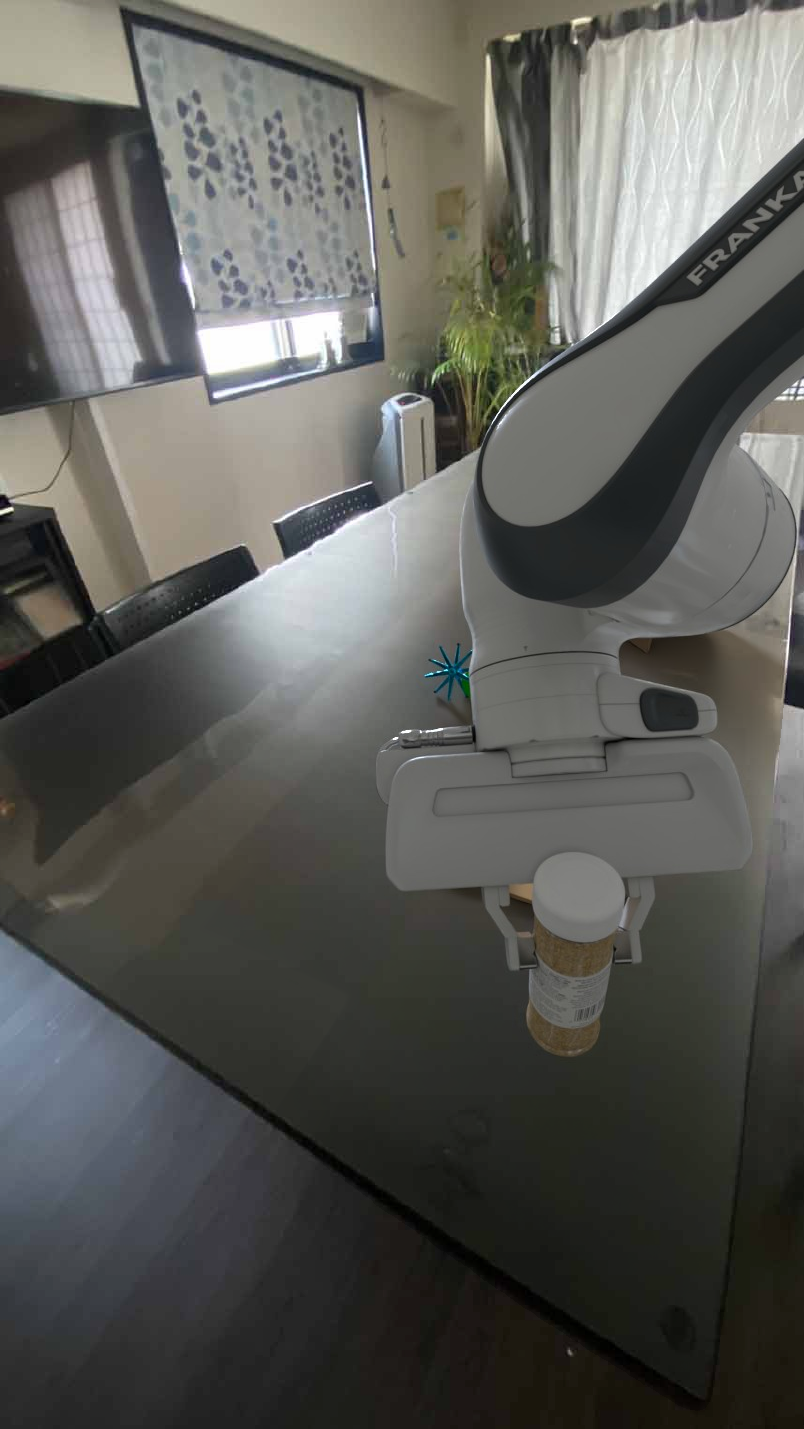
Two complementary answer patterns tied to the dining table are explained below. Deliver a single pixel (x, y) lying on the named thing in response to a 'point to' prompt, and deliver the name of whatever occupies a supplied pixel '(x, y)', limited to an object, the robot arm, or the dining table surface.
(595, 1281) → the dining table surface
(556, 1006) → the sprinkles bottle
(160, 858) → the dining table surface
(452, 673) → the stick construction toy
